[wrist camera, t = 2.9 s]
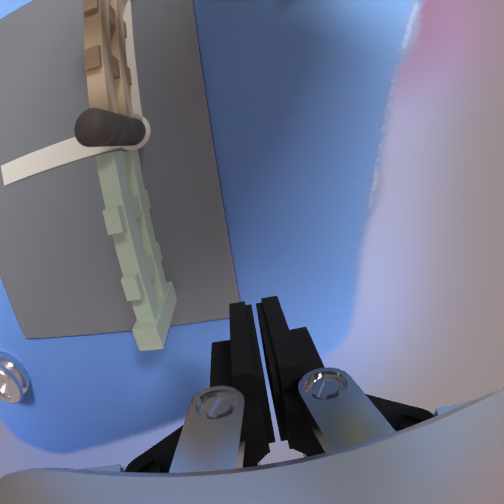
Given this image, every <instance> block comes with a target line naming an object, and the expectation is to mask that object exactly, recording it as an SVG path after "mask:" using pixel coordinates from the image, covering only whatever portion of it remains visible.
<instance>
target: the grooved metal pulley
mask: <svg viewBox="0 0 504 504" xmlns="http://www.w3.org/2000/svg"><path fill="white" fill-rule="evenodd" d="M30 384H31V380H30V376H29V374H28V372H27V370H26V369H25V367H24V366H23V365H22V363H21V362H20V361H19V360H18V359H16V358H15V357H14V356H12V355H11V354H9V353H7V352H4V351H0V399H1V400H3V401H5V402H7V403H12V404H15V403H18V402H19V401H20V400H21V399H22V397H23V394H24V393H25V392H26V391H27V390H28V388H29V386H30Z"/></svg>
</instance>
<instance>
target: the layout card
mask: <svg viewBox="0 0 504 504" xmlns="http://www.w3.org/2000/svg"><path fill="white" fill-rule="evenodd" d="M122 4H123V20H124V21H125V23H126V28H127V38H125V48H126V59H127V66H128V67H129V68H130V72H131V81H132V85H129V86H130V94H131V102H132V109H133V117H134V118H135V119H139V120H140V121H142V122H143V124H144V125H145V128H146V134H145V137H144V139H143V140H142V141H141V142H140V143H139V144H137V145H134V146H105V147H85V146H83V145H81V144H80V143H79V142H78V141H77V139H76V137H75V133H74V127H75V123H76V120H77V118H78V117H79V115H80V114H81V113H82V112H84V111H85V110H87V109H90V106H89V98H88V88H87V77H86V70H85V56H84V50H85V48H84V14H83V0H33V1H31V2H29V3H27V4H25V5H24V6H22V7H20V8H18V9H17V10H15V11H13V12H12V13H10V14H8V15H7V16H5V17H3V18H2V19H0V277H1V280H2V283H3V285H4V288H5V291H6V293H7V296H8V299H9V301H10V304H11V306H12V309H13V311H14V313H15V316H16V318H17V320H18V323H19V325H20V327H21V329H22V332H23V334H24V336H25V338H26V339H29V338H47V337H62V336H75V335H88V334H99V333H110V332H120V331H130V330H132V329H133V326H134V324H135V322H136V320H137V318H136V315H135V312H134V309H133V306H132V303H131V301H127V299H126V296H125V292H124V289H123V286H122V283H121V278H122V277H123V274H122V270H121V267H120V263H119V260H118V256H117V252H116V249H115V245H114V241H113V237H112V235H108V232H107V228H106V224H105V220H104V216H103V212H102V211H103V210H105V209H106V208H105V204H104V199H103V194H102V189H101V185H100V180H99V174H98V169H97V164H96V158H95V157H96V156H99V155H103V154H107V153H110V152H115V151H123V152H127V151H131V150H138V154H139V160H140V165H141V171H142V176H143V181H144V187H145V190H148V195H149V200H150V205H151V208H150V209H149V211H150V216H151V220H152V225H153V229H154V234H155V238H156V242H159V246H160V250H161V254H162V261H161V263H162V267H163V271H164V275H165V279H166V282H170V281H173V285H174V289H175V293H176V297H177V301H176V305H175V308H174V312H173V316H172V319H171V323H170V326H173V325H180V324H188V323H195V322H203V321H210V320H217V319H223V318H230V316H229V304H231V303H237V302H240V298H239V293H238V287H237V281H236V276H235V270H234V265H233V259H232V253H231V247H230V242H229V236H228V230H227V224H226V218H225V212H224V206H223V200H222V194H221V188H220V182H219V176H218V170H217V164H216V157H215V151H214V145H213V138H212V132H211V125H210V119H209V112H208V106H207V99H206V92H205V86H204V79H203V72H202V65H201V58H200V51H199V44H198V37H197V29H196V22H195V14H194V7H193V0H122Z"/></svg>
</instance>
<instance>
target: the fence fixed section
mask: <svg viewBox="0 0 504 504" xmlns="http://www.w3.org/2000/svg"><path fill="white" fill-rule="evenodd" d="M83 14H84V48H85V50H84V56H85V70H86V77H87V88H88V98H89V106H90V109H87V110H85V111H84V112H82V113H81V114H80V115H79V117H78V118H77V120H76V123H75V127H74V133H75V137H76V139H77V141H78V142H79V143H80V144H81V145H83V146H85V147H105V146H134V145H137V144H139V143H140V142H141V141H142V140H143V139H144V137H145V134H146V128H145V125H144V124H143V122H142V121H140V120H139V119H135V118H134V117H133V109H132V102H131V94H130V86H129V85H132V81H131V72H130V68H129V67H128V66H127V59H126V48H125V38H127V28H126V23H125V21H124V20H123V4H122V0H83Z"/></svg>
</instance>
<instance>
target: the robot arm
mask: <svg viewBox="0 0 504 504" xmlns="http://www.w3.org/2000/svg"><path fill="white" fill-rule="evenodd" d="M261 300H262V303H256V307H257V313H258V319H259V325H260V332H261V338H262V344H263V350H264V357H265V363H266V369H267V374H268V379H269V384H270V389H271V394H272V399H273V404H274V409H275V414H276V419H277V424H278V429H279V433H280V438H281V441H284V440H288V444H289V448H290V449H295V450H297V451H299V452H302V453H303V456H304V458H299V459H294V460H289V461H283V462H278V463H272V464H266V465H260V460H261V459H263V458H264V456H265V455H267V454H268V453H270V449H269V443H272V442H275V437H274V431H273V426H272V420H271V414H270V408H269V402H268V397H267V390H266V385H265V379H264V373H263V367H262V362H261V356H260V351H259V345H258V340H257V334H256V329H255V323H254V318H253V312H252V306H251V304H250V305H245V302H237V303H231V304H229V316H230V340H227V341H220V342H213V343H212V351H211V374H210V388H207V389H205V390H203V391H201V392H199V393H198V394H197V395H196V396H195V397H194V398H193V399H192V401H191V403H190V406H189V409H188V412H187V416H186V419H185V422H184V425H182V426H181V427H180V428H178V429H177V430H176V431H174V432H173V433H172V434H170V435H169V436H167V437H166V438H164V439H163V440H162V441H160V442H159V443H158V444H156V445H154V446H153V447H152V448H150V449H149V450H147V451H146V452H144V453H143V454H142V455H140V456H138V457H137V458H135V459H134V460H133V461H132V462H131V463H130V464H128V466H127V467H124V468H122V467H121V465H113V466H105V467H96V468H86V469H69V468H33V469H27V470H21V471H16V472H13V473H10V474H7V475H5V476H3V477H2V478H0V504H504V387H502V388H500V389H497V390H495V391H492V392H490V393H487V394H485V395H483V396H481V397H479V398H477V399H474V400H471V401H467V402H462V403H459V404H454V405H450V406H445V407H441V408H436V411H435V413H430V412H429V411H427V410H424V409H421V408H417V407H413V406H409V405H405V404H401V403H397V402H393V401H390V400H386V399H382V398H378V397H375V396H371V395H367V394H365V393H364V392H363V391H362V390H361V389H360V387H359V386H358V385H357V384H356V382H355V381H354V380H353V379H352V377H351V376H349V375H348V374H347V373H346V372H345V371H342V370H340V369H337V368H325V367H324V365H323V363H322V361H321V358H320V356H319V354H318V352H317V350H316V347H315V345H314V343H313V341H312V339H311V336H310V334H309V332H308V330H307V328H306V327H302V328H297V329H292V330H289V328H288V325H287V323H286V320H285V317H284V314H283V311H282V309H281V306H280V303H279V300H278V298H277V296H273V297H267V298H262V299H261Z"/></svg>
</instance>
